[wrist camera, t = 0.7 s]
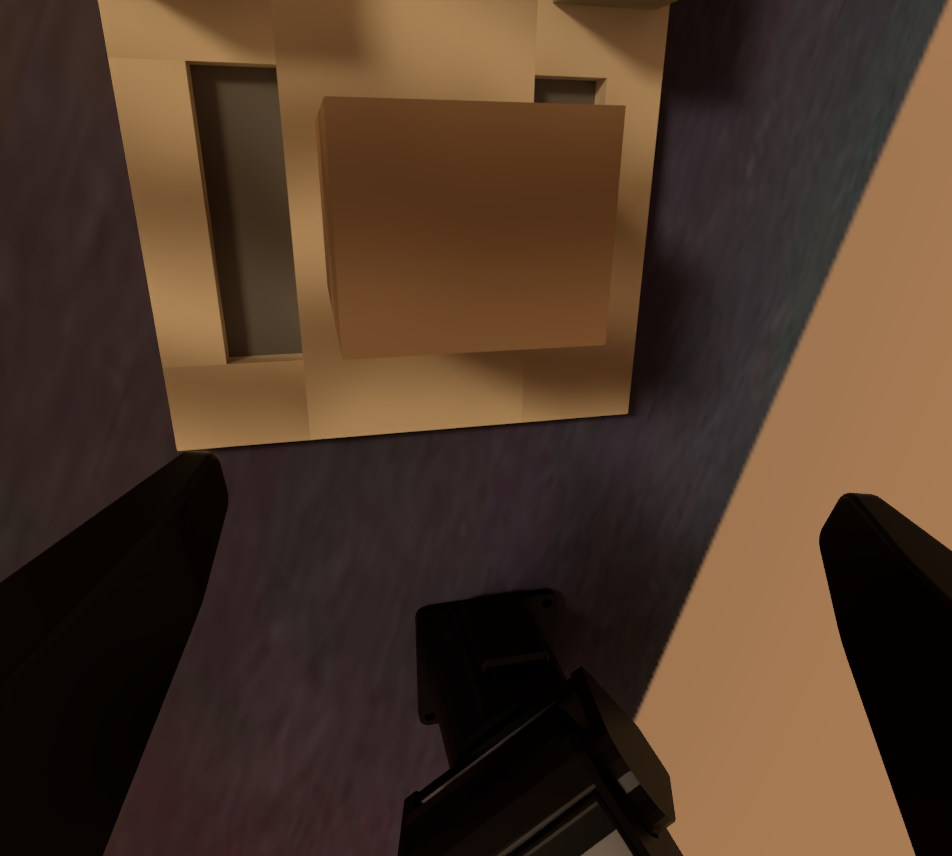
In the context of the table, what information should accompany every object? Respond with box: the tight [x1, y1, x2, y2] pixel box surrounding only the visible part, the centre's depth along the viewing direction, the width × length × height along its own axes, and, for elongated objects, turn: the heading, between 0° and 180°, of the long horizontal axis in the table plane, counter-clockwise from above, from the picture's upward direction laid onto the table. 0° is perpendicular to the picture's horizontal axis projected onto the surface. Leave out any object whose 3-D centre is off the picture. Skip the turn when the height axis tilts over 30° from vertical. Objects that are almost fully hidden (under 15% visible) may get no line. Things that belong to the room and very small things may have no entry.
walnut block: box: [315, 96, 626, 360], centre depth 18 cm, size 5×6×9 cm
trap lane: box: [98, 0, 678, 451], centre depth 20 cm, size 18×17×5 cm
